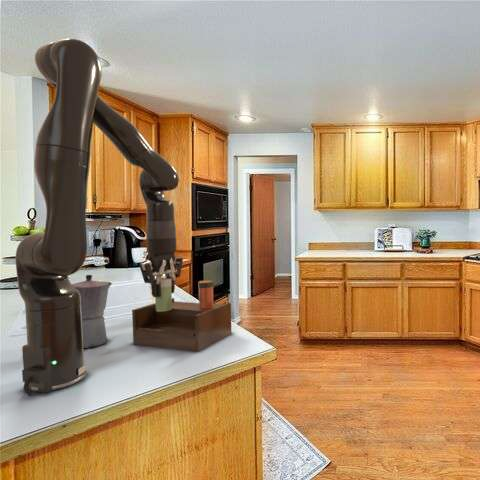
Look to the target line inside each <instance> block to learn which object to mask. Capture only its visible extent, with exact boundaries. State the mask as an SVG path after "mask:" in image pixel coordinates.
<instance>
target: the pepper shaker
mask: <svg viewBox="0 0 480 480" xmlns="http://www.w3.org/2000/svg"><path fill="white" fill-rule="evenodd" d="M197 287H198V303H199V308H200V309H209V308H212V307H213V304H214V280H207V279H206V280H199V281H198V282H197Z"/></svg>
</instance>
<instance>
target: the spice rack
mask: <svg viewBox="0 0 480 480" xmlns="http://www.w3.org/2000/svg"><path fill="white" fill-rule="evenodd" d="M131 316H132V340H133V341H132V342H133V345H139V346H148V347H157V348H166V349H174V350H183V351H190V352H200V351H202V350H204V349H206V348H208V347H210V346H212V345H213V344H216V343H217V342H219V341H221V340H222V339H224V338H226V337H228V336H231V335H232V302H225V303H222V304H214V303H213V307H212V308H209V309H200V308H199V302H189V301H175V298H174V297H172V309H171V310H169V311H164V312H157V311H156V308H155V303H154V304H152V303H151V304H147V305H145V306H141V307H137V308H134V309H132V310H131Z"/></svg>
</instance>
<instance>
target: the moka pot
mask: <svg viewBox="0 0 480 480" xmlns="http://www.w3.org/2000/svg"><path fill="white" fill-rule="evenodd" d="M92 278H93V275H92V274H86V275H85V280H84V281H79V282H75V283H71V284H72V285H73V286H74V287H75V288H76V289H78V290H79V292H80V295H81V314H82V334H83V349H86V348H94V347H97V346H101V345H104V344H105V343H107V341H108V338H107V330H106V323H105V317H104V316H105V315H104V314H105V309H106V307H107V300H108V294H109V289H110V287H111V285H113V283H112V282H110V281H99V280H92Z"/></svg>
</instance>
